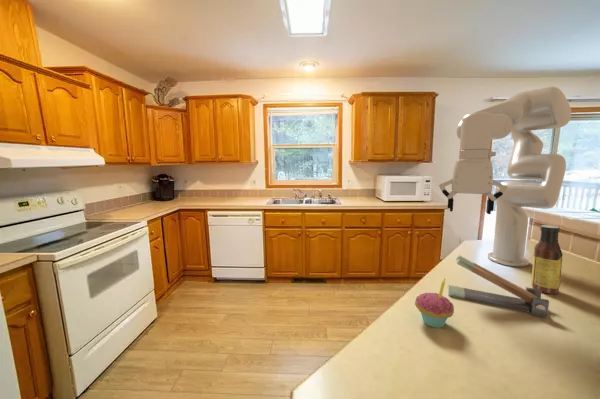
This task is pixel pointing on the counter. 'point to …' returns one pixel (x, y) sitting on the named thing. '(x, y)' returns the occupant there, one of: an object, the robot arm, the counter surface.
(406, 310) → the counter surface
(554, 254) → the sauce bottle
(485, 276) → the bar
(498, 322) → the counter surface
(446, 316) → the cupcake
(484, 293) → the base
